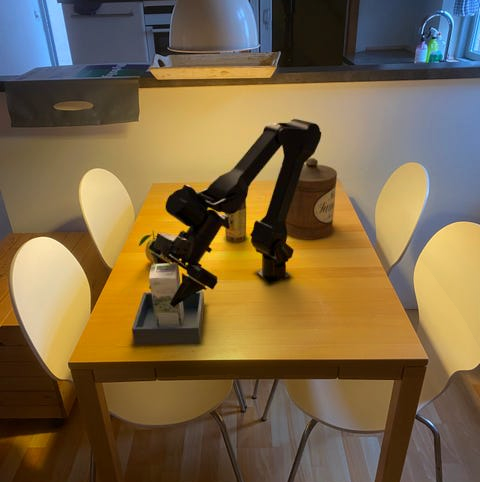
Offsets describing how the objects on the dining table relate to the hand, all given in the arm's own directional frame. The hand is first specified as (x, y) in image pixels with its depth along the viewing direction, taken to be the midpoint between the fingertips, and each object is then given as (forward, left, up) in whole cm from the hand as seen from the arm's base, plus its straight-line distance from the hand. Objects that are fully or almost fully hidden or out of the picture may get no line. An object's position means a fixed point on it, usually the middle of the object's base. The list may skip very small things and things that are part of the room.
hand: (161, 297), depth 101 cm
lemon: (-28, +9, -8) cm, 31 cm away
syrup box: (0, +2, -8) cm, 8 cm away
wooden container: (-24, +57, -8) cm, 62 cm away
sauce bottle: (-30, +35, -8) cm, 47 cm away
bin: (0, +2, -8) cm, 8 cm away
